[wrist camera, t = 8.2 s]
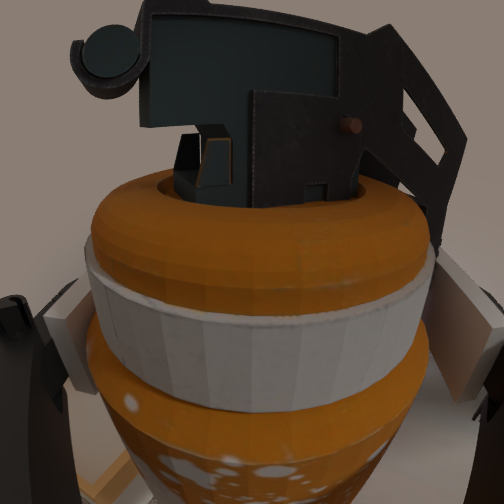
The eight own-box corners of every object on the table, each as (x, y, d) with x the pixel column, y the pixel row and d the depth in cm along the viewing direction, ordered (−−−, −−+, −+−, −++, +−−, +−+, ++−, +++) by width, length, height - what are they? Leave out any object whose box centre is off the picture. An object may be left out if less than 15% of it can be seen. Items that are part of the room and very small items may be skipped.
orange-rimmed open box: (107, 376, 35) (90, 328, 32) (207, 425, 30) (199, 377, 27) (28, 447, 23) (-5, 402, 20) (126, 529, 18) (93, 498, 15)
